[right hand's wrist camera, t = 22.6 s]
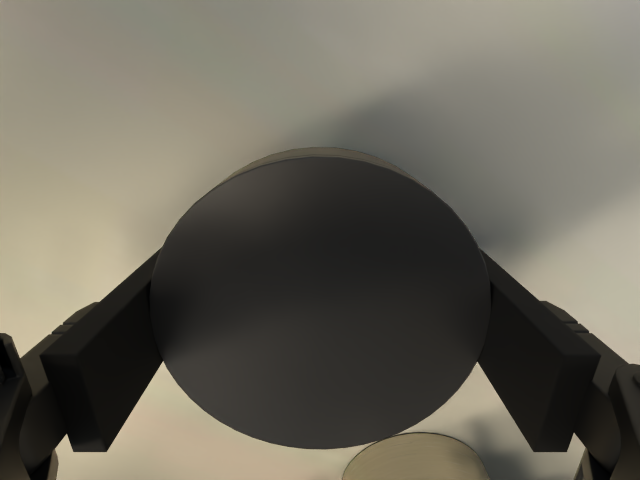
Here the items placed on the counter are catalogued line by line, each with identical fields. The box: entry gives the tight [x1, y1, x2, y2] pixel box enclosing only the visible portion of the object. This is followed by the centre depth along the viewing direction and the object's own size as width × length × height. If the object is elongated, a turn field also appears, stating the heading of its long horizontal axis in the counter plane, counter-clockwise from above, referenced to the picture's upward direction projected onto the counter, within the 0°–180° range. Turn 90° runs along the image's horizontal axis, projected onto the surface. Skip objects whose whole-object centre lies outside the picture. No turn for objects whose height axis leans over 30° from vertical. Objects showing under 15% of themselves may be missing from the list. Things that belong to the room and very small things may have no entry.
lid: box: [149, 147, 491, 449], centre depth 11 cm, size 10×10×2 cm
